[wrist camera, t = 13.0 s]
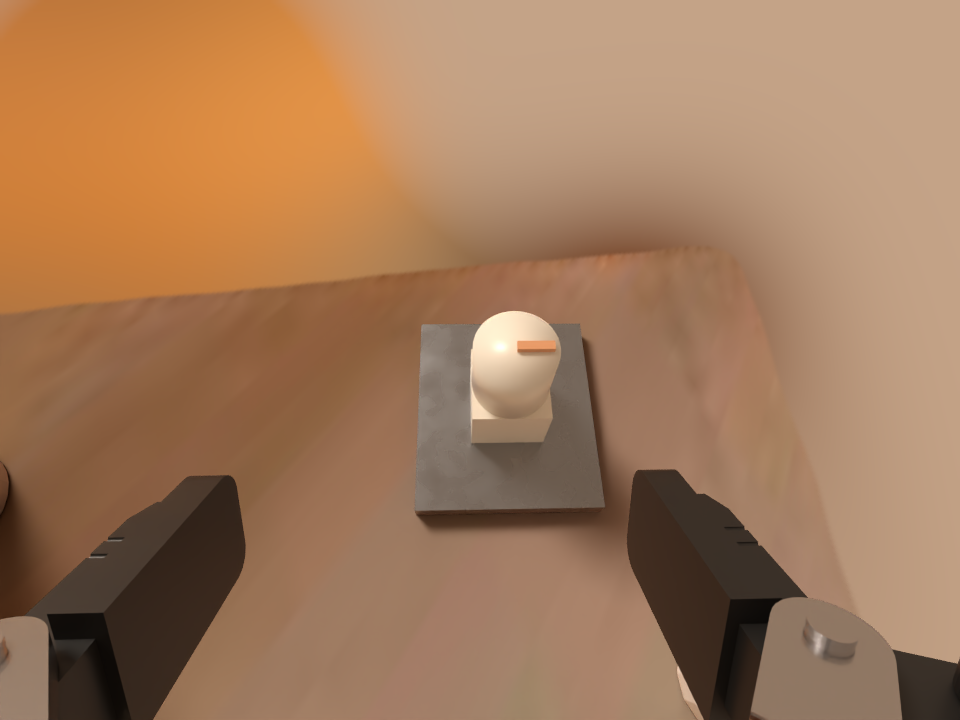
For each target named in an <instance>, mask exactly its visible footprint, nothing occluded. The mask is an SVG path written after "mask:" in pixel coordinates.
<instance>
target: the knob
mask: <svg viewBox="0 0 960 720" xmlns="http://www.w3.org/2000/svg"><path fill="white" fill-rule="evenodd" d="M560 358H561V346H560V341H559V338H558V336H557V334H556V333H555V331H554V330H553V328H552V327H551V326H550V325H549V324H548V323H547V322H545V321H544V320H543V319H541V318H539V317H537V316H535V315H533V314H530V313H526V312H521V311H509V312H503V313H500V314H497V315H495V316H493V317H491V318H489V319H488V320H486V321H485V322H484V323H483V324H482V325H481V326H480V328H479V329H478V331H477V332H476V334H475V337H474V341H473V349H471V370H470V391H471V443H513V442H543V441H544V438H545V436H546V433H547V431H548V429H549V426H550V424H551V421H552V419H553V415H552V405H551V395H550V387H551V385H552V382H553V379H554V376H555V373H556V370H557V368H558V365H559V362H560Z"/></svg>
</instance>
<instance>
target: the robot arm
mask: <svg viewBox="0 0 960 720" xmlns="http://www.w3.org/2000/svg"><path fill="white" fill-rule="evenodd" d="M8 487H9V481H8V476H7V471H6V469H5V468H4V466H3V464H2V462H1V461H0V514H1V512H2V510H3V509H4V506H5V502H6V499H7V496H8ZM627 547H628V555H629V560H630V564H631V567H632V569H633V572H634V574H635V576H636V578H637V580H638V582H639V584H640V586H641V589H642V591H643V593H644V595H645V597H646V599H647V601H648V603H649V605H650V608H651V610H652V612H653V614H654V616H655V618H656V620H657V622H658V624H659V626H660V629H661V631H662V633H663V635H664V637H665V639H666V641H667V643H668V645H669V648H670V650H671V652H672V654H673V656H674V658H675V660H676V662H677V664H678V667H679V669H680V671H681V673H682V675H683V677H684V679H685V681H686V683H687V685H688V688H689V690H690V692H691V694H692V696H693V698H694V700H695V702H696V704H697V707H698V709H699V711H700V713H701V715H702V717H703V719H704V720H960V659H959V662H958V664H956V663H951V662H946V661H942V660H938V659H933V658H928V657H924V656H919V655H915V654H910V653H905V652H901V651H896V650H892V649H891V647H890V645H889V644H888V643H887V641H886V640H885V639H884V638H883V637H882V636H881V635H880V634H879V632H877V631H876V630H875V629H874V628H873V627H872V626H870V625H869V624H868V623H866V622H865V621H864V620H862V619H861V618H859V617H857V616H856V615H854V614H852V613H851V612H849V611H847V610H845V609H843V608H840V607H838V606H836V605H833V604H830V603H827V602H824V601H821V600H816V599H812V598H808V597H807V596H806V595H805V594H804V593H803V592H802V591H801V590H800V588H799V587H798V586H797V585H796V584H795V583H794V582H793V581H792V579H791V578H790V577H789V576H788V575H787V574H786V573H785V572H784V570H783V569H782V568H781V567H780V566H779V565H778V564H777V563H776V561H775V560H774V559H773V558H772V557H771V556H770V555H769V554H768V553H767V551H766V550H765V549H764V548H763V547H762V546H759V545H758V541H757V540H756V539H755V538H754V537H753V536H752V535H751V533H750V532H749V531H748V530H745V529H744V526H743V524H742V523H741V522H740V521H739V520H738V519H737V518H736V517H735V515H734V514H733V513H732V512H731V511H730V510H729V509H728V508H727V507H725V506H723V505H722V504H720V503H719V502H717V501H715V500H714V499H712V498H711V497H709V496H707V495H706V494H696V493H695V491H694V490H693V489H692V488H691V487H690V485H689V484H688V483H687V482H686V481H685V479H684V478H683V477H682V476H681V475H680V473H679V472H678V471H676V470H637V471H636V473H635V475H634V478H633V485H632V494H631V504H630V514H629V524H628V534H627ZM244 559H245V538H244V531H243V525H242V518H241V512H240V505H239V499H238V492H237V486H236V483H235V480H234V479H233V478H232V477H231V476H229V475H220V476H189V477H187V478H185V479H184V480H183V481H182V482H181V483H180V484H179V485H178V486H177V487H176V488H175V489H174V490H173V491H172V492H171V493H170V494H169V495H168V496H167V497H166V498H165V499H164V500H163V501H162V502H156V503H155V504H153V505H151V506H149V507H148V508H146V509H144V510H143V511H141V512H139V513H137V514H136V515H134V516H132V517H130V518H129V519H127V520H126V521H125V522H124V523H123V524H122V525H121V526H120V527H119V528H118V529H117V530H116V531H115V532H114V533H112V534H111V535H110V536H109V537H108V541H104V542H103V543H102V544H101V545H100V546H99V547H97V548H96V549H95V550H94V551H93V552H92V553H91V556H90V558H86V559H85V560H83V561H82V562H81V563H80V564H79V565H78V566H77V567H76V568H75V569H74V570H73V571H72V572H71V573H70V574H68V575H67V576H66V577H65V578H64V579H63V580H62V581H61V582H60V583H59V584H58V585H57V586H56V587H55V588H53V589H52V590H51V591H50V592H49V593H48V594H47V595H46V596H45V597H44V598H43V599H42V600H41V601H40V602H38V603H37V604H36V605H35V606H34V607H33V608H32V609H31V610H30V611H29V612H28V613H27V614H26V615H24V616H20V617H11V618H5V619H1V620H0V720H153V718H154V717H155V715H156V713H157V712H158V710H159V708H160V707H161V705H162V703H163V702H164V700H165V699H166V697H167V695H168V694H169V692H170V690H171V689H172V687H173V685H174V684H175V682H176V680H177V679H178V677H179V675H180V674H181V672H182V670H183V669H184V667H185V665H186V664H187V662H188V660H189V659H190V657H191V655H192V654H193V652H194V650H195V649H196V647H197V645H198V644H199V642H200V641H201V639H202V637H203V636H204V634H205V632H206V631H207V629H208V627H209V626H210V624H211V622H212V621H213V619H214V617H215V616H216V614H217V612H218V611H219V609H220V607H221V606H222V604H223V602H224V601H225V599H226V597H227V596H228V594H229V592H230V591H231V589H232V587H233V586H234V584H235V583H236V581H237V579H238V577H239V576H240V573H241V571H242V568H243V564H244Z"/></svg>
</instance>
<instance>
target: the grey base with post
mask: <svg viewBox="0 0 960 720" xmlns="http://www.w3.org/2000/svg"><path fill="white" fill-rule="evenodd" d="M481 325H482V324H430V325H422V329H421V355H420V382H419V409H418V436H417V463H416V490H415V513H416V515H440V514H494V513H549V512H600V511H602V510H603V509H604V508H605V502H604V495H603V488H602V481H601V474H600V466H599V459H598V452H597V445H596V437H595V430H594V423H593V416H592V408H591V401H590V394H589V387H588V380H587V372H586V365H585V358H584V351H583V343H582V336H581V329H580V324H549V325H550V326H551V327H552V328H553V330H554V331H555V333H556V334H557V336H558V338H559V341H560V346H561V358H560V362H559V365H558V368H557V370H556V373H555V376H554V379H553V382H552V385H551V387H550V395H551V405H552V415H553V419H552V421H551V424H550V426H549V429H548V431H547V433H546V436H545V438H544V441H543V442H513V443H471V391H470V370H471V349H473V341H474V337H475V334H476V332H477V331H478V329H479V328H480V326H481Z"/></svg>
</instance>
